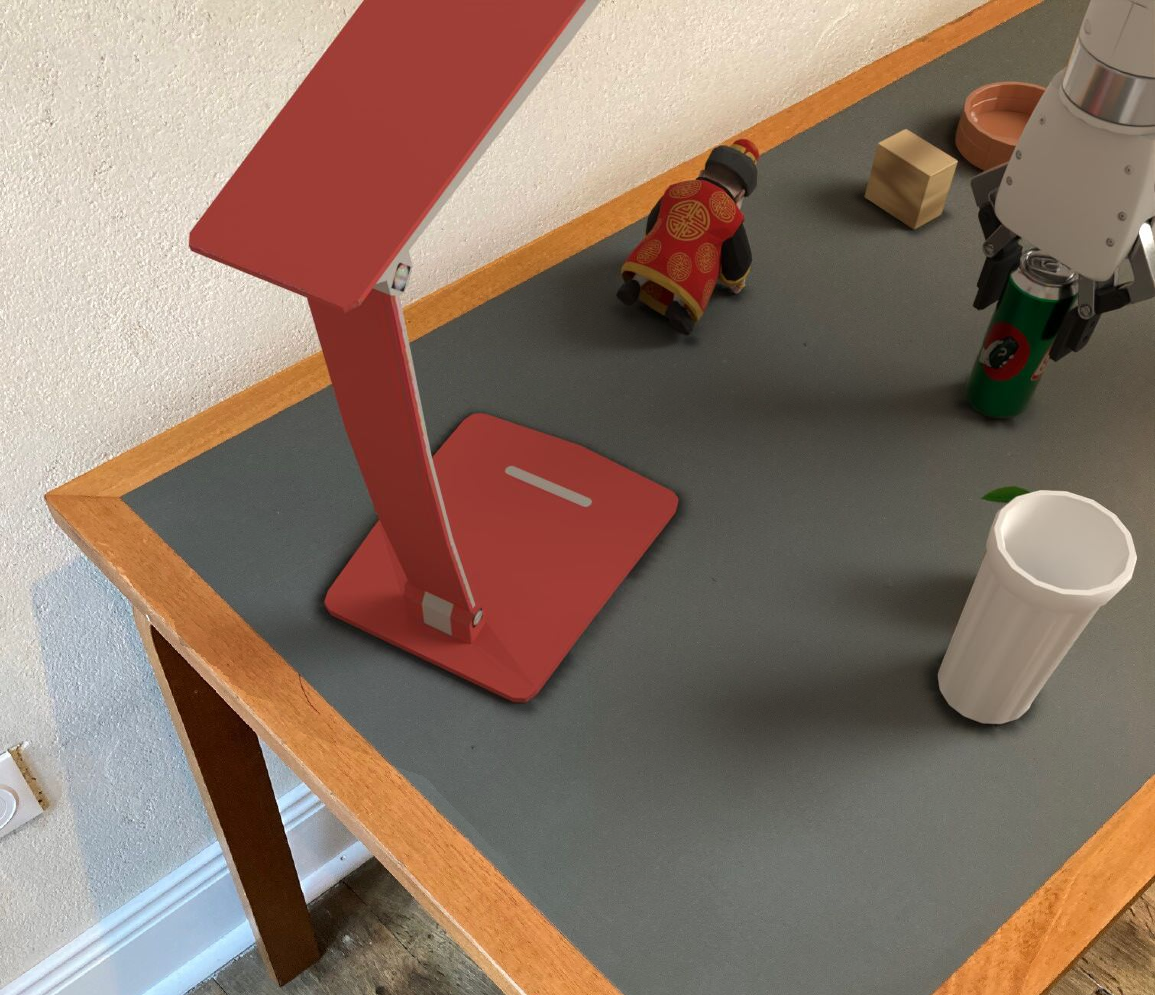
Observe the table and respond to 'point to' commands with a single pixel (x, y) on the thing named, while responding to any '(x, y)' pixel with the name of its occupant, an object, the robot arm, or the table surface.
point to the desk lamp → (382, 353)
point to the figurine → (695, 239)
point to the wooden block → (910, 178)
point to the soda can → (1021, 334)
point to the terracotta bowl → (995, 121)
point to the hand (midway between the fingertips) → (1026, 324)
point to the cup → (1032, 600)
